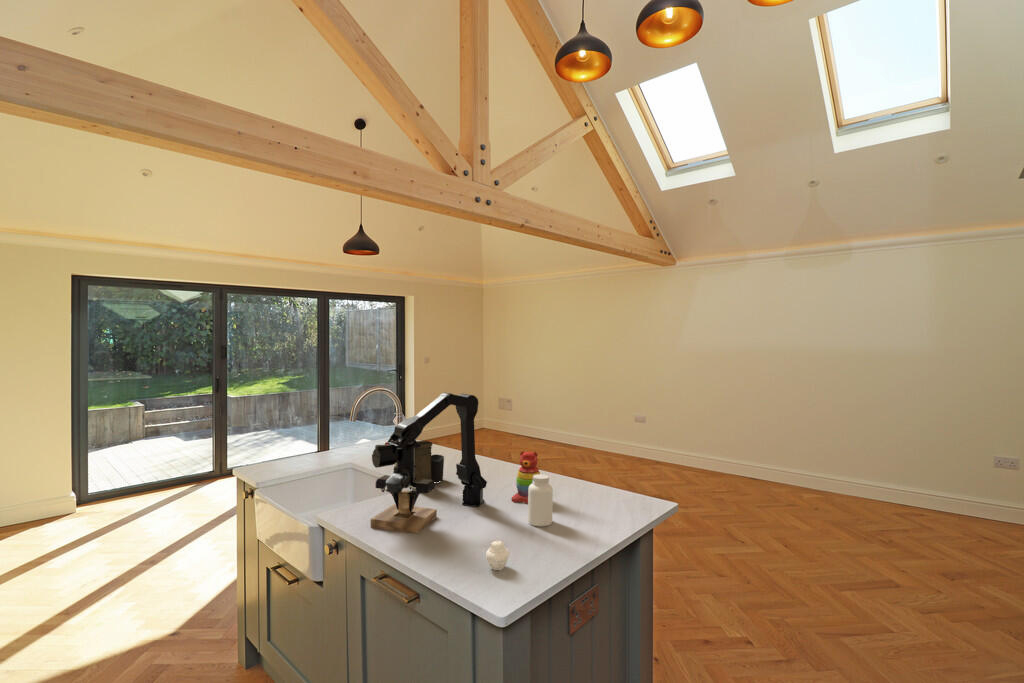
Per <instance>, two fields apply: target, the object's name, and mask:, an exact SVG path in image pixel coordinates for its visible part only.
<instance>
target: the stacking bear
mask: <svg viewBox="0 0 1024 683" xmlns="http://www.w3.org/2000/svg"><path fill="white" fill-rule="evenodd" d="M538 459H539V458H538V453H537V451H535V452H532V451H526V452H525V451H521V452H520V457H519V464H520V467H519V469H518V471H517V475H516V480H515V481H516V482H515V484H516V485H515V486H516V489H517V492H516V493H515V494H514V495H513V496H512V497H511V499H510V500H511V502H513V503H516V502H525V503H524V504H528V488H529V486H530V485H531V484H532V483H533V482H532V481H533V476H534V475H537V474H541V473H540V470H539V468H538V466H537V465H538V461H539V460H538Z"/></svg>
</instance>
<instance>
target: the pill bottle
mask: <svg viewBox="0 0 1024 683" xmlns="http://www.w3.org/2000/svg"><path fill="white" fill-rule="evenodd" d="M532 482H533V483H532V484H531V485H530V486H529V488H528V503H527V521H528V523H529V525H531V526H533V527H534V526H535V527H548V526H550V525H552V523H553V502H554V500H553V499H554V498H553V497H554V496H553V494H554V493H553V492H554V490H553V487H552V485H551V484H549V483H550V476H549V475H547V474H543V473H542V474H541V473H540V474H537V475H534V476H533V481H532Z"/></svg>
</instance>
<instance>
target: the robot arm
mask: <svg viewBox="0 0 1024 683" xmlns="http://www.w3.org/2000/svg"><path fill="white" fill-rule="evenodd" d="M451 405H452V406H454V407H455V409H456V410H455V411H456V413H457V415H458V417H459V420H460V441H461V442H460V445H461V460H460V461H459V463H456V464H455V465H456V466H455V467H456V472H455V475H456V476H457V479H459V481H460V483H461V485H463V490H462V503H461V505H462V506H469V507H477V508H478V507H480V506H481V505H482V504H483V503H484V502H485V499H484V489H486V487H487V484H488V481H487V480H486V479H485V478H484V477H483V476H482V473H481V468H480V465H479V463H478V461H477V458H476V436H475V434H476V433H475V417H476V416H477V414H478V412H479V410H478V409H479V398H478V397H477V396H475V395H474V394H467V393H460V394H453V393H451V392H441V394H439V396H438V397H436V398H435V399H434V400H433V401H431V403H429V404H427V406H426V407H424V408H423V409H422V410H421V411H419V412H418V413H417V414H416V415H414V416H412V417H408V418H406V419H404V420H403V421H400V422H399V423H398V424H396V425H395V426H394V430H393V432H392V434H391V436H390V437H389V439H388V441H387V442H386V444H376V445H375V447H374V449H373V451H372V454H371V460H372V464H373V466H374V467H375V468H377V469H378V468H382V467H388V466H393V465H395V464H396V465H395V466H394V468H393V473H392V474H391V475H387V474H385V475H383V476H381V477H378V478H377V479H376V481H375V489H380V490H383V489H385V488H386V489H385V492H387V493H389V494H390V495H391V496H392V498H393V500H394V504H396V507H397V510H399V492H401V491H403V490H404V489H407V488H412V490H409V491H410V492H409V493H408V494H409V496H410V501H409V511H410V512H411V511H412V510H413V507H415V505H416V502H417V500H418V498H419V496H420V494H429V493H431V492H432V491H433V490H435V488H436V483H434V481H433V480H427V479H423V480H421V481H420V482H414V480H416V476H414V468H415V467H416V464H414V453H415V448H418V447H421V445H420V444H418V443H417V441H418V440H417V438H418V437H419V436H420V435H421V434H422V433H423V430H424V428H425V427H426V426H427V425H428V424H429V423H430V422H432V421H433V420H434V419H435V418H436V417H438V416H439V415H441V413H442V412H444V411H445V410H446V409H447V408H448V407H449V406H451Z"/></svg>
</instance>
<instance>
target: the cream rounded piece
mask: <svg viewBox="0 0 1024 683" xmlns="http://www.w3.org/2000/svg"><path fill="white" fill-rule="evenodd" d="M509 556H510V552H509V550H508V548H506V547H505V544H504V542H503V541H501V540H494V541H492V542H491V543H490V547H489V548H488V549H487V550H486V552H485V558H486V561H487V563H488V566H489V567H490V569H491V570H492V569H494V570H493V571H495V570H499V571H502V570H503V569H505V568H504V567H505V566H506V564H507V562H508V560H509ZM501 569H502V570H501Z"/></svg>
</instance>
